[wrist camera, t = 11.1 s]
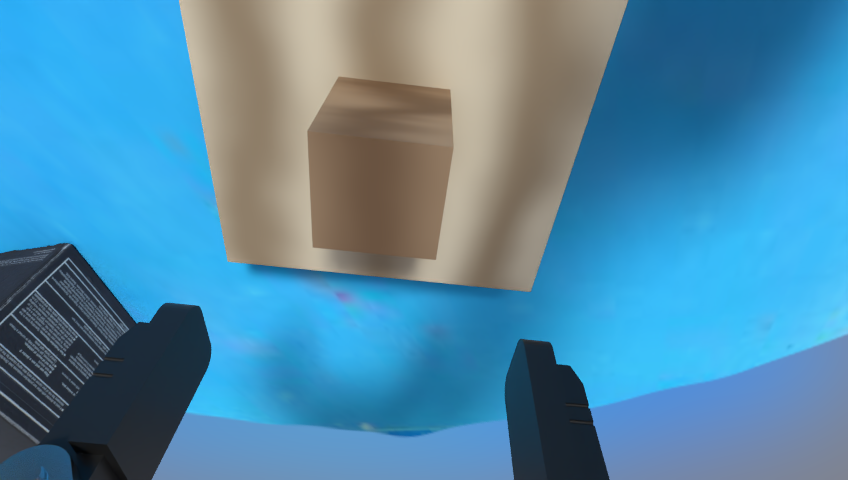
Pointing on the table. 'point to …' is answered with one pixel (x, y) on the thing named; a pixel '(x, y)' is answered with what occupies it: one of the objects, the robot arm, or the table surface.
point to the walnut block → (380, 168)
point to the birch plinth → (413, 65)
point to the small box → (49, 338)
